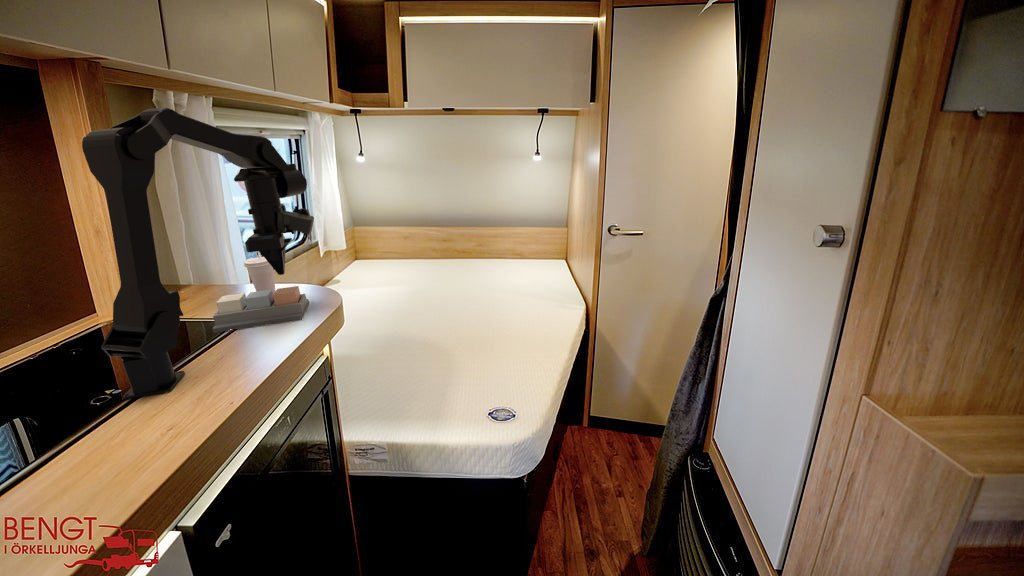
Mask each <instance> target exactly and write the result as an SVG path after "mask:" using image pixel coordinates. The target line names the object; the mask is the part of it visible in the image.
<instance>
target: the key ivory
mask: <svg viewBox="0 0 1024 576" xmlns="http://www.w3.org/2000/svg"><path fill="white" fill-rule="evenodd" d="M246 297H247V295H246V292H243V293H236V294H228V295H222V296H221V297H220V298H219V299H218V300H217V301H216V307H217V311H219V314H222V313H229V312H236V311H242V310H243V309H244V308H245V307H246V301H245V298H246Z"/></svg>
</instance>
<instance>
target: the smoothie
mask: <svg viewBox="0 0 1024 576" xmlns="http://www.w3.org/2000/svg"><path fill="white" fill-rule="evenodd" d="M257 256H258V257H253V258H249V259H247V260H245V261H243V264H244V265H243V266H244V267H245V268H246V270H247V273H248V275H249V277H250V279H251V282H252V285H253V286H254V289H255V292H257V291H265V290H272V292H273V294H274V293H275V291H276V285H275V284H276V283H275V274H274V268H273V267H272V266H271V265H270V264H269V262H268V261H267V260H266V259H265V258H264V257H263V256H262V254H261V253H260V252H259V251H257Z"/></svg>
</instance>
